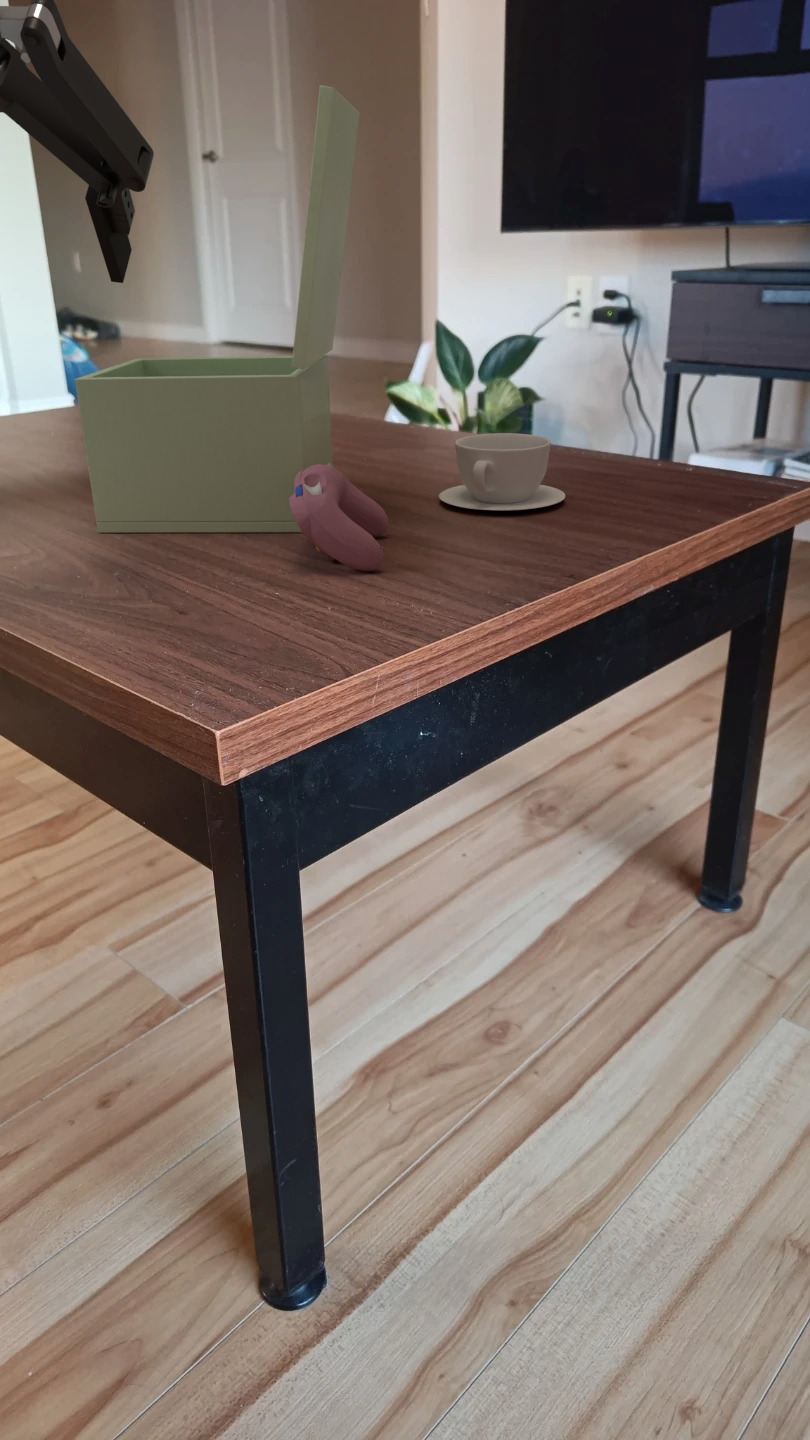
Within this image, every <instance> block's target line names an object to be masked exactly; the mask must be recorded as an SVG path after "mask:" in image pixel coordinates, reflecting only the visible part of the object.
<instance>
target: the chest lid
mask: <svg viewBox="0 0 810 1440" xmlns="http://www.w3.org/2000/svg"><path fill="white" fill-rule="evenodd" d="M360 115H361V113H360V111H358V110H357V108H355V107H354V105H352V104H351V103H350V102H349V101H348V100H347V99H346V98H345V97H344V96H343V95H341V93H340V92H339V91H338V90H337V89H335V87H333V86H327V85H319V91H318V102H317V110H316V120H315V121H316V122H315V132H314V139H313V140H314V141H313V151H312V159H311V160H312V161H311V170H310V171H311V172H310V173H311V174H310V181H309V191H308V201H307V211H306V221H305V231H304V239H303V240H304V241H303V251H302V261H301V271H300V280H299V291H298V301H297V309H296V310H297V311H296V321H295V329H294V339H293V349H292V356H293V359H292V367H293V368H298V369H305V368H306V367H308V366H309V365H311V364H312V363H313V362H315V361H316V360H318V359H319V358H321V357H322V356H326V355H327V354H329V352H331V351H332V350H333V346H334V339H335V331H336V330H335V329H336V321H337V315H338V314H337V313H338V304H339V295H340V288H341V287H340V286H341V278H342V269H343V261H344V252H345V245H346V244H345V242H346V235H347V227H348V220H349V219H348V217H349V210H350V200H351V191H352V183H353V176H354V175H353V174H354V167H355V157H356V151H357V150H356V149H357V140H358V133H359V125H360V124H359V123H360Z"/></svg>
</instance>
